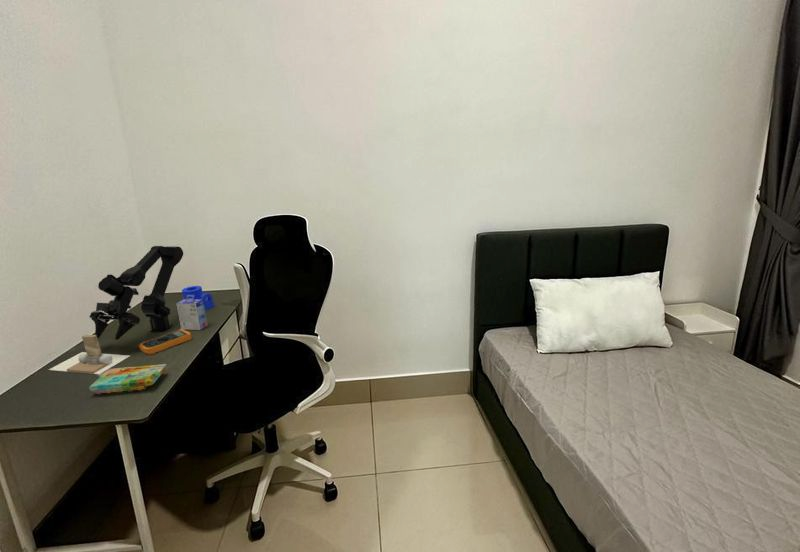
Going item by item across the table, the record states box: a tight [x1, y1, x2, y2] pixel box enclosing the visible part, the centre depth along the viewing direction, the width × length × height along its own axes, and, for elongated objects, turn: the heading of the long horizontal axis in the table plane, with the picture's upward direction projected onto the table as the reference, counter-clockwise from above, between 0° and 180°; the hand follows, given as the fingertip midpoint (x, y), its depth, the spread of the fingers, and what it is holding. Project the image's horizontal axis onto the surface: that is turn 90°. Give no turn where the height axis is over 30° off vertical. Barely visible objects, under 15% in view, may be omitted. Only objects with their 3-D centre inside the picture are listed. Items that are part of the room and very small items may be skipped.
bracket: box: [181, 285, 215, 311], centre depth 229 cm, size 20×9×8 cm, turn 50°
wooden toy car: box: [81, 334, 105, 365], centre depth 171 cm, size 3×5×11 cm
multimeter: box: [138, 328, 193, 356], centre depth 186 cm, size 9×18×3 cm, turn 139°
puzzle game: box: [88, 363, 168, 395], centre depth 157 cm, size 12×5×20 cm
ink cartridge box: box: [175, 295, 209, 331], centre depth 200 cm, size 10×6×14 cm, turn 78°
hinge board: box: [48, 351, 130, 378], centre depth 173 cm, size 14×23×4 cm, turn 76°
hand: (106, 338), depth 176 cm, fingers open, 9 cm apart
